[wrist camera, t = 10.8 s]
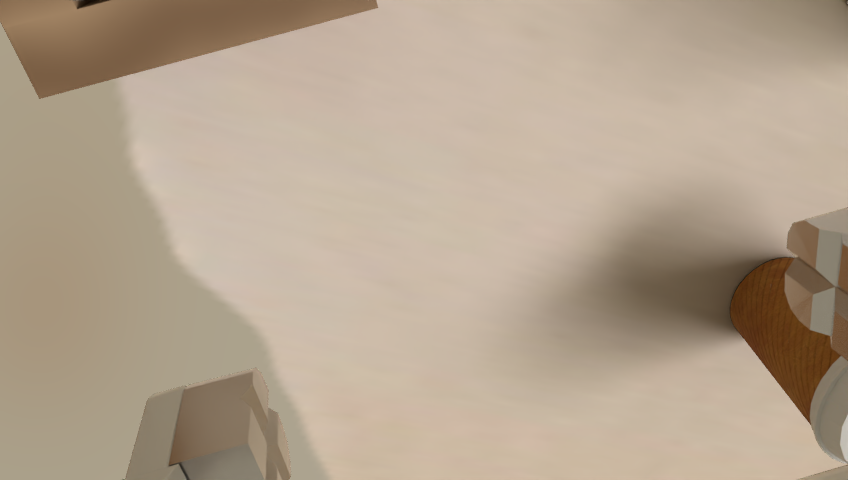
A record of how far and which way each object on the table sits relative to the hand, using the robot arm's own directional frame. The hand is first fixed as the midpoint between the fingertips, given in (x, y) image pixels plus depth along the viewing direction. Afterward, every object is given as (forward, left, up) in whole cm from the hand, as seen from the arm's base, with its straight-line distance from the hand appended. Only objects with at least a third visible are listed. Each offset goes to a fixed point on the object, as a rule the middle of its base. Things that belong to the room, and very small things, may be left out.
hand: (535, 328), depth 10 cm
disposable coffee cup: (+24, +23, -27) cm, 43 cm away
